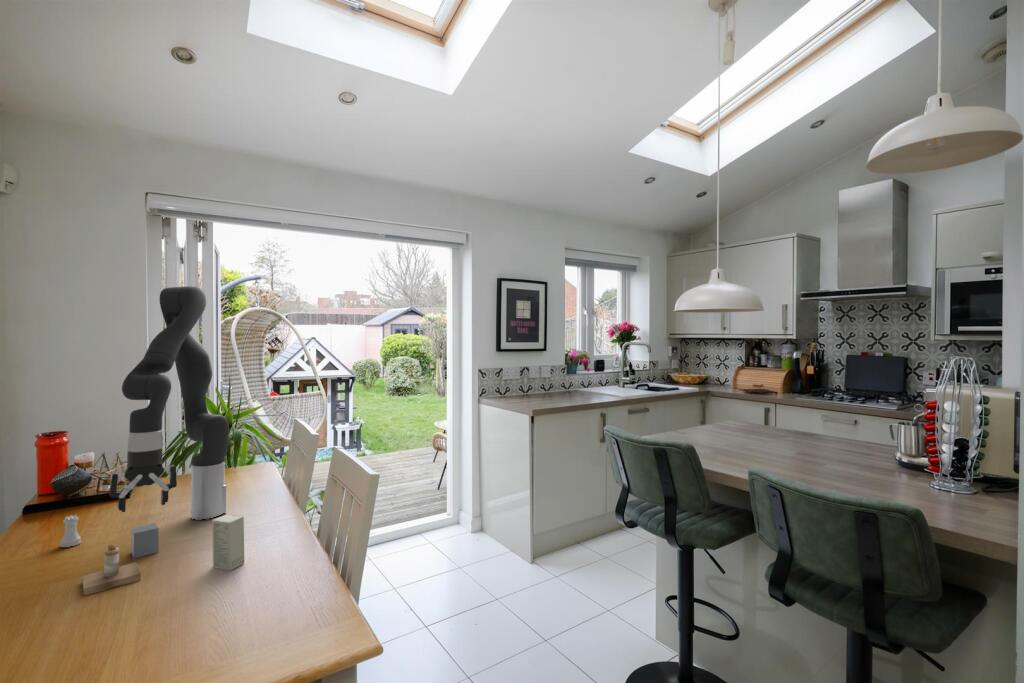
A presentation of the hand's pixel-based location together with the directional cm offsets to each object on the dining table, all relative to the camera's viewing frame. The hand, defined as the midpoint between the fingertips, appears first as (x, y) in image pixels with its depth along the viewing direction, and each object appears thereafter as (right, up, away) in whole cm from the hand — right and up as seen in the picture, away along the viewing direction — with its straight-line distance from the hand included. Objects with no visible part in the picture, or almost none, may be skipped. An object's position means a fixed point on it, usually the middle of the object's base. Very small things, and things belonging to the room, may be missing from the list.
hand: (143, 507), depth 127 cm
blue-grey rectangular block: (0, -12, 0) cm, 12 cm away
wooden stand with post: (+5, -12, -15) cm, 20 cm away
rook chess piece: (-24, -12, +4) cm, 27 cm away
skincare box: (+27, -13, -7) cm, 31 cm away
